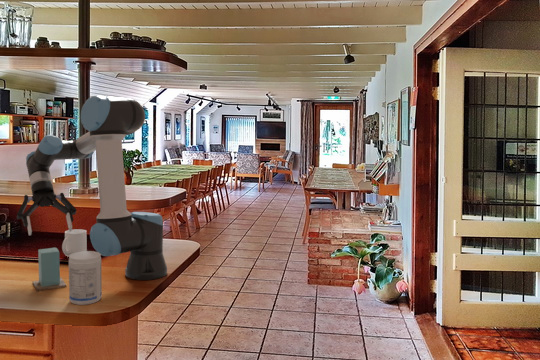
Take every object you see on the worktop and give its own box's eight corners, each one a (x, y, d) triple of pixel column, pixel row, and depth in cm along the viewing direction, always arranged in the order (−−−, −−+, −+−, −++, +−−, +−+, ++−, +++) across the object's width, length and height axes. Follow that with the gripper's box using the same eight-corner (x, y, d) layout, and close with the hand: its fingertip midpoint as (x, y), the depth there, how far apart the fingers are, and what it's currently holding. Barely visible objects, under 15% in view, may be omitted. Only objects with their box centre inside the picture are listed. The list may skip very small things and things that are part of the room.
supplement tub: (80, 293, 153) (79, 249, 151) (107, 296, 151) (107, 251, 150) (62, 304, 143) (62, 257, 141) (91, 307, 142) (91, 260, 140)
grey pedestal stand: (32, 283, 161) (32, 258, 160) (60, 278, 166) (60, 255, 165) (37, 291, 153) (36, 265, 152) (66, 286, 158) (65, 261, 157)
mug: (71, 261, 186) (71, 236, 185) (54, 259, 189) (53, 234, 187) (90, 254, 198) (90, 230, 197) (74, 252, 200) (74, 228, 199)
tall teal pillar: (39, 281, 160) (38, 249, 159) (56, 279, 163) (56, 247, 162) (41, 286, 156) (41, 253, 154) (59, 284, 159) (59, 251, 158)
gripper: (74, 190, 191) (84, 232, 180) (4, 194, 176) (11, 240, 166) (77, 178, 186) (88, 221, 175) (5, 181, 171) (12, 228, 161)
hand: (51, 231), depth 170 cm, fingers open, 13 cm apart
